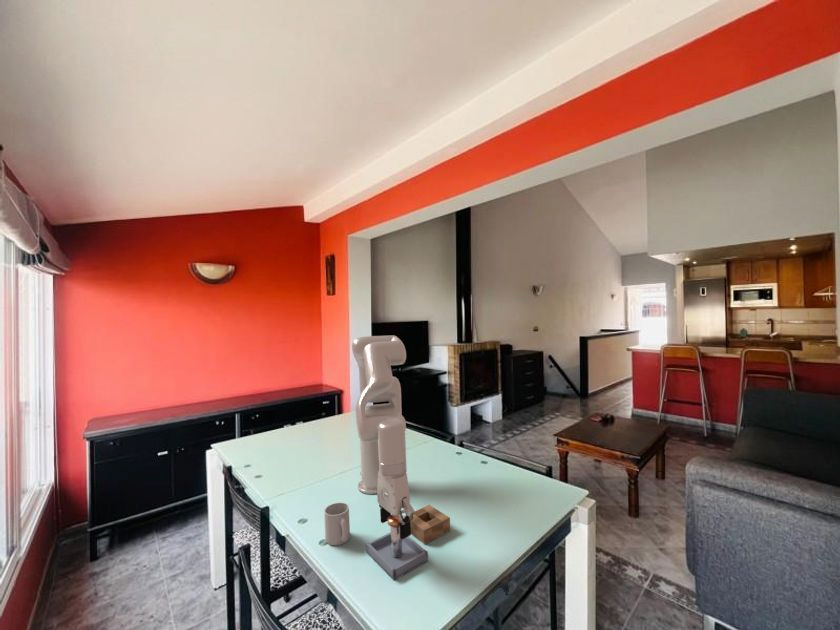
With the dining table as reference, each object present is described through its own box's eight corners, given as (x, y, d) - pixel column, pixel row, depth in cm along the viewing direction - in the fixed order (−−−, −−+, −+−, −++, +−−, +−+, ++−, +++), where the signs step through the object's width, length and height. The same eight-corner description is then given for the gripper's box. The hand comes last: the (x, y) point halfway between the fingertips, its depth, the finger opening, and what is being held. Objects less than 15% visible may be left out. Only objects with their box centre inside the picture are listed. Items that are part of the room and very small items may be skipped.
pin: (386, 554, 98) (384, 517, 98) (399, 547, 101) (397, 511, 101) (394, 562, 95) (393, 524, 95) (408, 555, 97) (406, 518, 97)
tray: (366, 552, 100) (366, 543, 100) (398, 536, 107) (398, 528, 107) (393, 580, 89) (393, 570, 89) (428, 560, 96) (427, 551, 96)
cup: (344, 528, 112) (342, 500, 112) (358, 544, 104) (357, 513, 104) (321, 537, 108) (320, 508, 108) (334, 554, 100) (333, 522, 100)
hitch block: (404, 529, 110) (404, 516, 110) (429, 517, 116) (429, 504, 117) (424, 544, 102) (423, 530, 103) (450, 530, 109) (449, 517, 109)
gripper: (365, 460, 103) (368, 520, 103) (399, 481, 89) (401, 550, 89) (387, 454, 107) (390, 511, 107) (422, 472, 93) (425, 537, 93)
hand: (395, 528), depth 98 cm, fingers open, 9 cm apart
